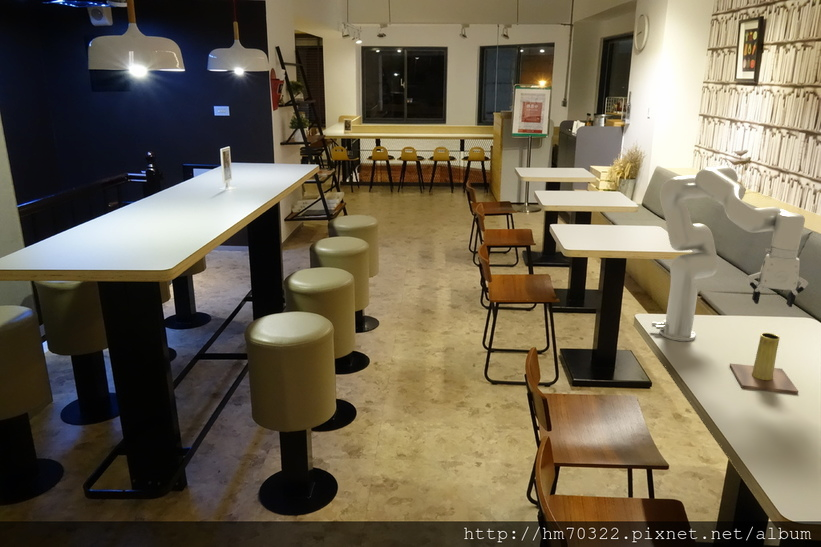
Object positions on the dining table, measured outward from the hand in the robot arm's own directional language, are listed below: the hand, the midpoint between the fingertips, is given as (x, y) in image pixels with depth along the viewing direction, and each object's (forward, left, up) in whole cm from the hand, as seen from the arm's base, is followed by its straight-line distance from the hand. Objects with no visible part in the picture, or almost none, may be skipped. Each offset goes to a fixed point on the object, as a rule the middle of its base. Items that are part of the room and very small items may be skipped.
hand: (772, 303), depth 200 cm
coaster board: (0, -4, -25) cm, 25 cm away
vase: (0, -4, -24) cm, 24 cm away
